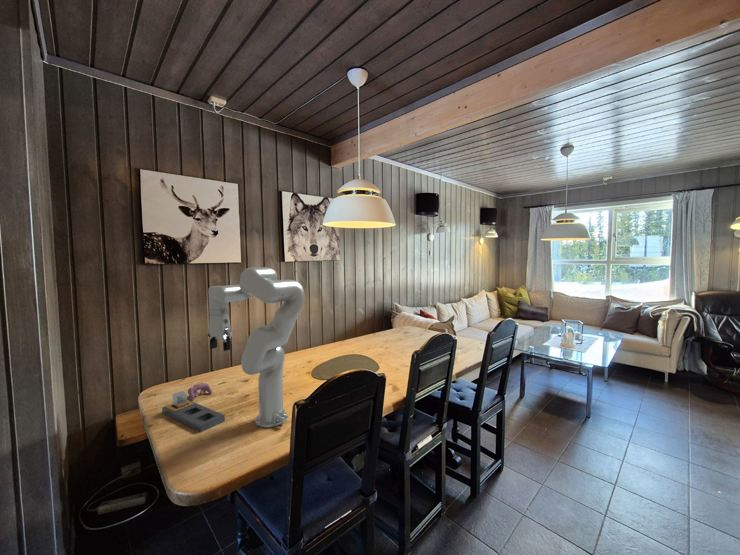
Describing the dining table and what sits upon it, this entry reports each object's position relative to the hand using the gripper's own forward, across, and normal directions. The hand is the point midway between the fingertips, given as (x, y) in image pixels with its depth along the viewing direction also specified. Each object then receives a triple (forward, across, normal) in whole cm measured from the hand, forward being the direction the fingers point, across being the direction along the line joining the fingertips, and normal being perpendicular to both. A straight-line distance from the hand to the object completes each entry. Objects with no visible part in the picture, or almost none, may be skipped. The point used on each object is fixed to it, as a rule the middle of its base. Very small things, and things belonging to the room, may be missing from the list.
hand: (220, 349), depth 143 cm
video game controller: (+25, +17, 0) cm, 31 cm away
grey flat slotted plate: (+26, 0, +14) cm, 29 cm away
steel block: (+25, +10, +14) cm, 30 cm away
